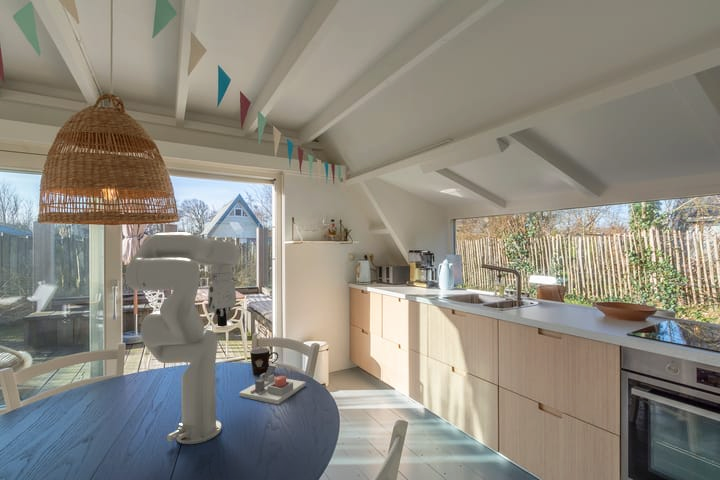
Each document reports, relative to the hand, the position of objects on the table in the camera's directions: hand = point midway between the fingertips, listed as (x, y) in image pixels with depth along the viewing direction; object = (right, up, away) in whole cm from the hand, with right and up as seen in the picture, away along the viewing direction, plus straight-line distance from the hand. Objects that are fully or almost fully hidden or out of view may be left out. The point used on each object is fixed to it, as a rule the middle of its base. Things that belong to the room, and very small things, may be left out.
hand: (222, 325), depth 133 cm
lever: (+14, -24, +11) cm, 30 cm away
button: (+22, -25, +1) cm, 33 cm away
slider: (+14, -25, 0) cm, 29 cm away
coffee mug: (+9, -28, +24) cm, 38 cm away
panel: (+18, -27, +5) cm, 33 cm away
